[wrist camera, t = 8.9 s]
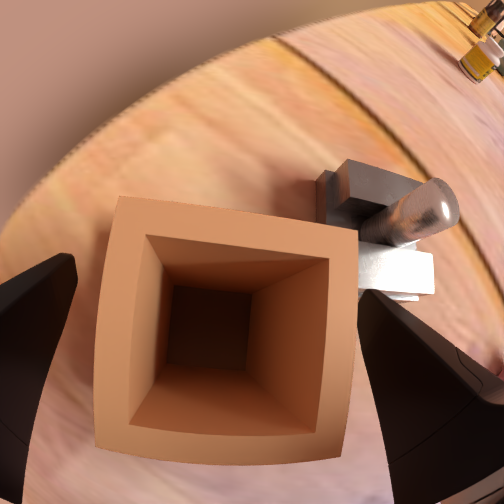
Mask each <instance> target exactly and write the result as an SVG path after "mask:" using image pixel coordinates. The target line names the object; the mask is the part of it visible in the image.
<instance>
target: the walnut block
mask: <svg viewBox="0 0 504 504" xmlns="http://www.w3.org/2000/svg"><path fill="white" fill-rule="evenodd" d="M251 300H252V294H247V293H237V292H228V291H219V290H210V289H202V288H194V287H186V286H178V285H174V289H173V297H172V306H171V316H170V326H169V337H168V349H167V362H166V363H168V364H176V365H184V366H193V367H202V368H213V369H226V370H241V371H246V359H247V347H248V336H249V324H250V312H251Z"/></svg>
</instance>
